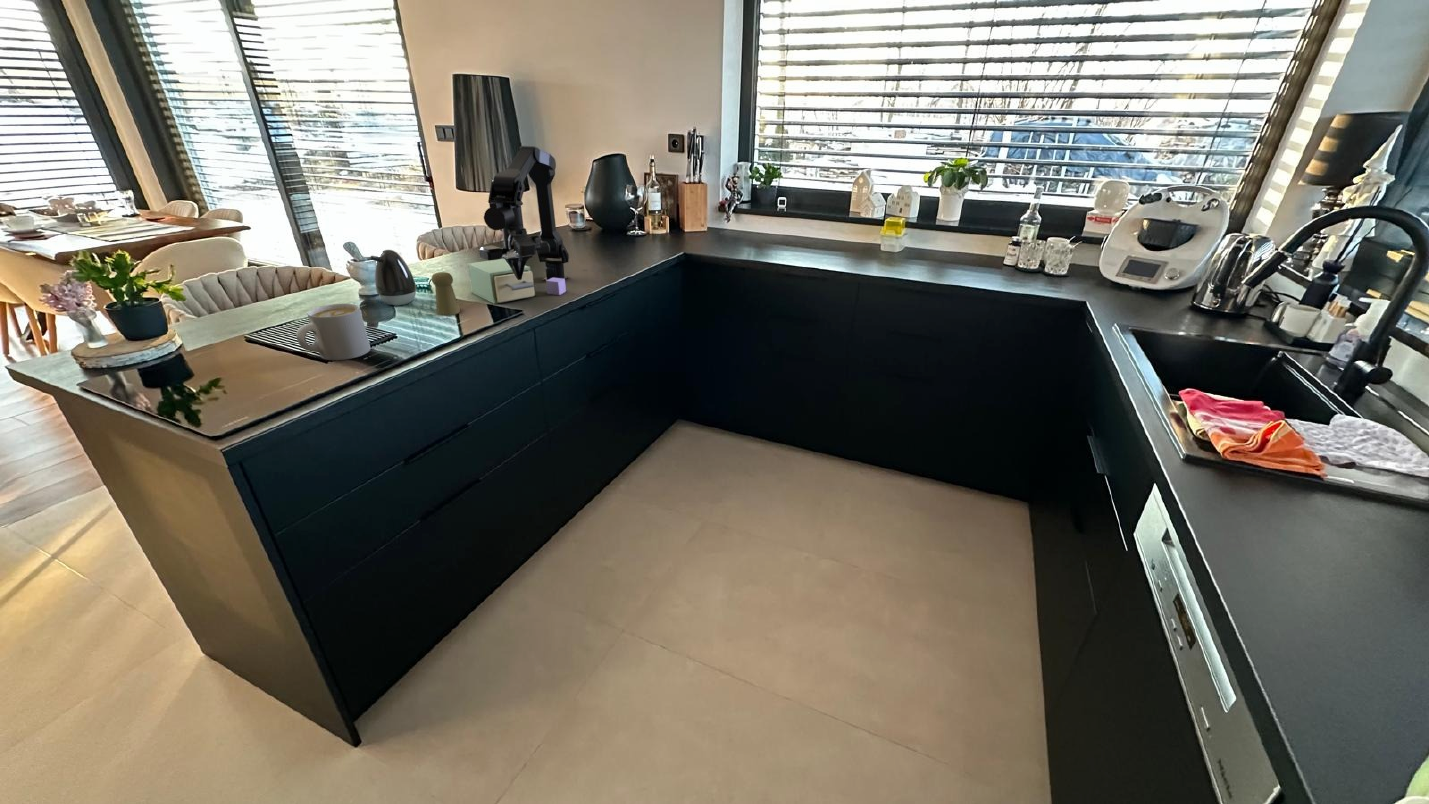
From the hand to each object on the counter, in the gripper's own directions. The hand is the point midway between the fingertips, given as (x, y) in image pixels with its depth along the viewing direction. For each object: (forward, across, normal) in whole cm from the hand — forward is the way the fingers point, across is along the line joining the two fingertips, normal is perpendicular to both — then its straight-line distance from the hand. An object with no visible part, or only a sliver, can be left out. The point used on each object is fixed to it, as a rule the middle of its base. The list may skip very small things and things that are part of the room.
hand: (519, 279), depth 161 cm
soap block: (+7, +14, +4) cm, 16 cm away
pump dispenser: (+7, -27, +22) cm, 35 cm away
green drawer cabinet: (+7, 0, +12) cm, 14 cm away
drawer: (+6, 0, +7) cm, 9 cm away
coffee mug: (+7, -50, -9) cm, 52 cm away
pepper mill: (+7, -19, +6) cm, 21 cm away
